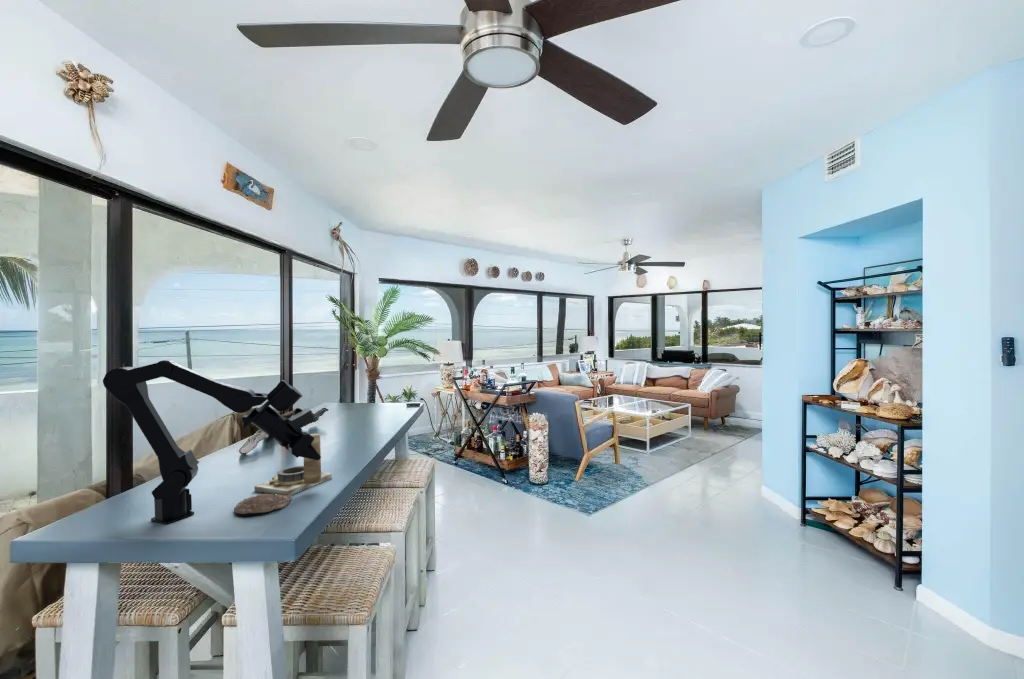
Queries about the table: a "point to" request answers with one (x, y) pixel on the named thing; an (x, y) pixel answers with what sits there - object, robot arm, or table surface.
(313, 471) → the oak axle
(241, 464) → the table surface
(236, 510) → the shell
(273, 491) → the gear board
